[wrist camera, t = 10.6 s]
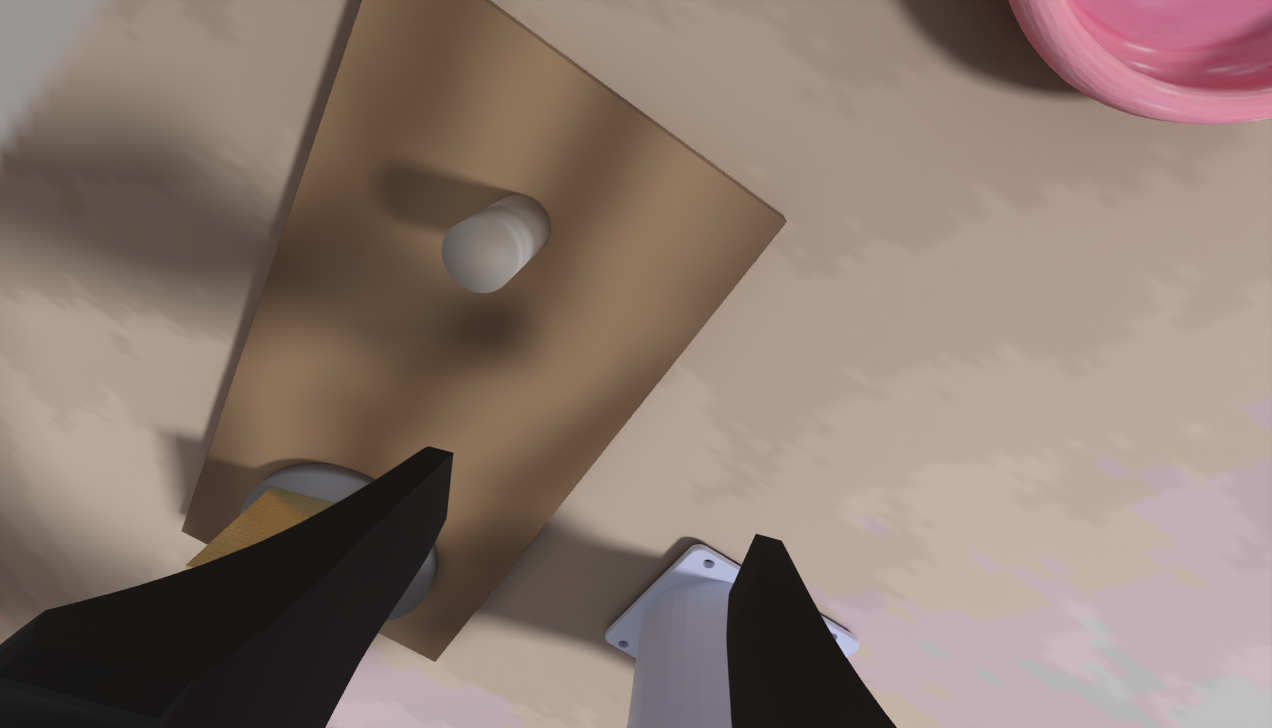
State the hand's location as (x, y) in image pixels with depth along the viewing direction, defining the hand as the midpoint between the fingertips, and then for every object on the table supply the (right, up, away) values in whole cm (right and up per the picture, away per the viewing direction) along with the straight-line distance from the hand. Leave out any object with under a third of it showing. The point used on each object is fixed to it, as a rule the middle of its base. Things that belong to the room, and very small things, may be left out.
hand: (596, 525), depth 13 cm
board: (-8, +2, +10) cm, 13 cm away
